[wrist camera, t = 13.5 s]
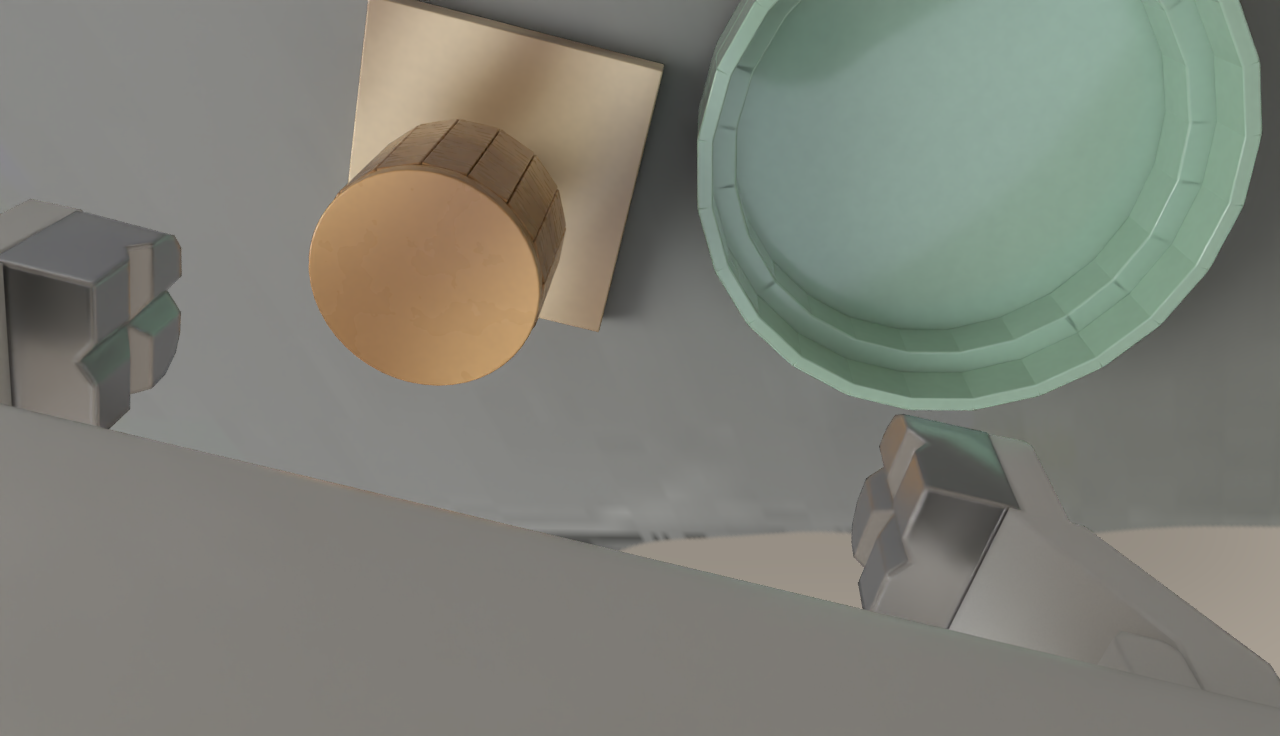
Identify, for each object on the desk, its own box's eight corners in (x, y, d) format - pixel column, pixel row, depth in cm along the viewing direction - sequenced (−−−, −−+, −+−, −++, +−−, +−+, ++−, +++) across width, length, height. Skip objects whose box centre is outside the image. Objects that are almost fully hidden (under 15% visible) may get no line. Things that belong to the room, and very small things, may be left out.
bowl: (1296, -56, 33) (1378, -41, 29) (1068, 397, 40) (1107, 458, 36) (779, -199, 32) (789, -204, 28) (648, 294, 39) (641, 345, 35)
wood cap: (583, 149, 31) (560, 203, 26) (543, 332, 34) (517, 408, 29) (375, 96, 30) (317, 143, 26) (355, 286, 33) (299, 357, 29)
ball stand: (664, 64, 35) (649, 144, 26) (601, 319, 40) (569, 465, 31) (378, -10, 35) (258, 45, 26) (348, 257, 39) (236, 388, 30)
